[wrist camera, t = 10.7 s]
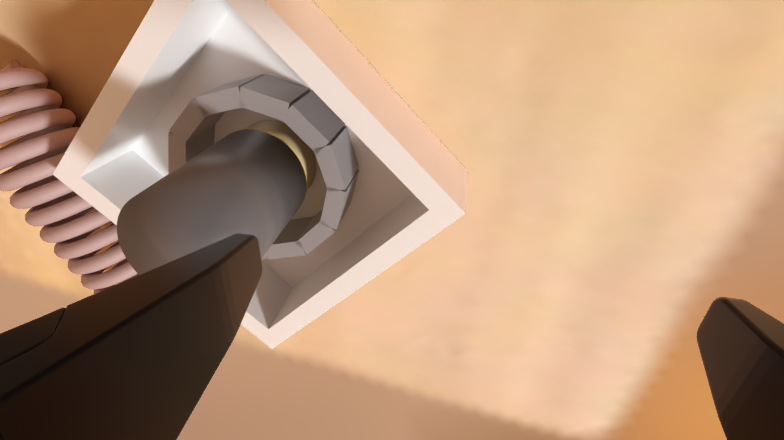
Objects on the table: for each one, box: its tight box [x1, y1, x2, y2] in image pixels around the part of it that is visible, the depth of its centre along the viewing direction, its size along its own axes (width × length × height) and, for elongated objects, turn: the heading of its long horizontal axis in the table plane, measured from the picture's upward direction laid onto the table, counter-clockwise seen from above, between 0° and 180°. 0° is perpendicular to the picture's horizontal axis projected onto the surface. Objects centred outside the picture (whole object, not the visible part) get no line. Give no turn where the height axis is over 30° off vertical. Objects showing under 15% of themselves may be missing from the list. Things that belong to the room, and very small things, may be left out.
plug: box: [117, 120, 316, 275], centre depth 18 cm, size 4×4×8 cm
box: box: [53, 0, 468, 349], centre depth 20 cm, size 13×13×4 cm
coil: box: [0, 61, 139, 294], centre depth 23 cm, size 5×5×18 cm
